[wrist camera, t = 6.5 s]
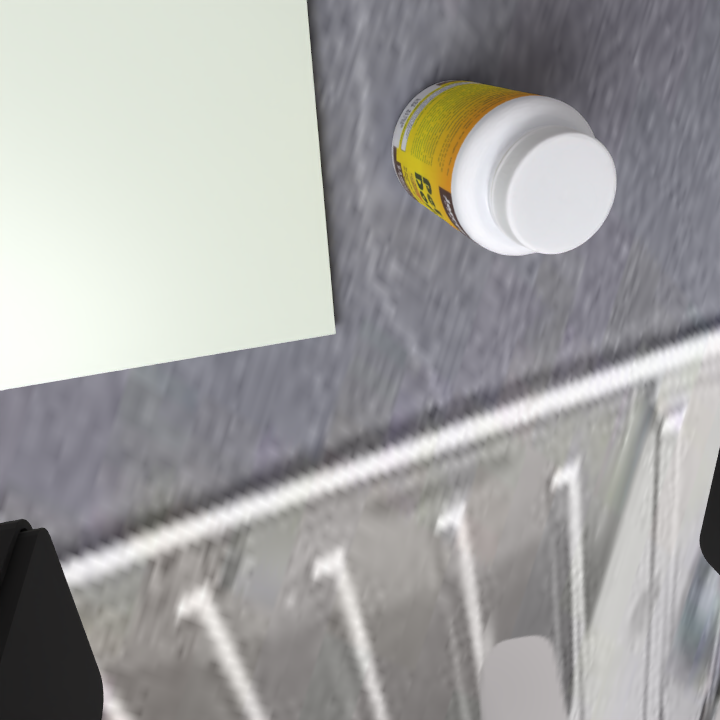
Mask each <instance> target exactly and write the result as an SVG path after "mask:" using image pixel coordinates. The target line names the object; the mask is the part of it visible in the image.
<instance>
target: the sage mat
mask: <svg viewBox="0 0 720 720" xmlns="http://www.w3.org/2000/svg"><path fill="white" fill-rule="evenodd" d="M331 334H336V333H335V321H334V310H333V298H332V287H331V275H330V264H329V252H328V241H327V230H326V218H325V207H324V195H323V184H322V172H321V161H320V149H319V138H318V126H317V115H316V103H315V92H314V80H313V69H312V57H311V46H310V34H309V23H308V11H307V0H0V390H5V389H11V388H17V387H23V386H29V385H35V384H40V383H46V382H52V381H58V380H64V379H70V378H76V377H82V376H88V375H94V374H100V373H106V372H112V371H118V370H124V369H129V368H135V367H141V366H147V365H153V364H159V363H165V362H171V361H177V360H183V359H189V358H195V357H201V356H207V355H213V354H218V353H224V352H230V351H236V350H242V349H248V348H254V347H260V346H266V345H272V344H278V343H284V342H290V341H296V340H302V339H307V338H313V337H319V336H325V335H331Z"/></svg>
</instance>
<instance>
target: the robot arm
mask: <svg viewBox="0 0 720 720" xmlns="http://www.w3.org/2000/svg"><path fill="white" fill-rule="evenodd" d="M700 547H701V550H702V553H703V555H704V557H705V559H706V560H707V562H708V563H709V564H710V565H711V566H712V567H713V568H714V569H715V570H716V571H717V573H718V574H719V575H720V449H719V453H718V458H717V462H716V467H715V471H714V476H713V480H712V485H711V489H710V494H709V498H708V502H707V507H706V511H705V516H704V520H703V525H702V529H701V534H700ZM102 711H103V684H102V678H101V675H100V672H99V669H98V666H97V663H96V661H95V658H94V655H93V652H92V650H91V647H90V644H89V641H88V639H87V636H86V633H85V630H84V628H83V625H82V622H81V619H80V617H79V614H78V611H77V608H76V606H75V603H74V600H73V597H72V595H71V592H70V589H69V586H68V584H67V581H66V578H65V575H64V573H63V570H62V567H61V564H60V562H59V559H58V556H57V553H56V551H55V548H54V545H53V542H52V540H51V537H50V535H49V533H48V531H47V530H46V529H45V528H38V529H32V527H31V525H30V524H29V522H28V521H27V520H24V519H20V520H15V521H9V522H4V523H0V720H101V719H102Z"/></svg>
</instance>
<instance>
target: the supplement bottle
mask: <svg viewBox="0 0 720 720" xmlns="http://www.w3.org/2000/svg"><path fill="white" fill-rule="evenodd" d="M392 160H393V165H394V169H395V172H396V175H397V177H398V179H399V181H400V183H401V184H402V186H403V187H404V189H405V190H406V191H407V192H408V193H409V194H410V195H411V196H412V197H413V198H414V199H416V200H417V201H418V202H419V203H421V204H422V205H424V206H425V207H427V208H428V209H429V210H431V211H432V212H434V213H435V214H436V215H438V216H439V217H440V218H442V219H443V220H445V221H446V222H448V223H449V224H450V225H451V226H453V227H454V228H456V229H457V230H459V231H460V232H462V233H463V234H464V235H466V236H467V237H469V238H470V239H471V240H473V241H474V242H475V243H477V244H479V245H481V246H482V247H484V248H486V249H488V250H490V251H493V252H495V253H499V254H503V255H526V254H532V253H535V252H538V253H544V254H558V253H563V252H566V251H569V250H572V249H574V248H576V247H578V246H579V245H581V244H582V243H584V242H585V241H587V240H588V239H589V238H590V237H592V235H593V234H594V233H595V232H596V231H597V230H598V229H599V228H600V226H601V225H602V224H603V222H604V221H605V219H606V217H607V215H608V213H609V212H610V209H611V206H612V204H613V201H614V197H615V192H616V171H615V166H614V162H613V159H612V157H611V155H610V153H609V152H608V150H607V149H606V148H605V146H604V145H603V144H602V143H601V142H600V141H598V140H597V139H596V138H595V137H594V135H593V132H592V130H591V128H590V126H589V125H588V123H587V122H586V120H585V119H584V118H583V117H582V116H581V115H580V113H579V112H577V111H576V110H575V109H574V108H572V107H571V106H569V105H567V104H566V103H564V102H562V101H560V100H557V99H554V98H550V97H546V96H541V95H536V94H531V93H525V92H520V91H515V90H510V89H505V88H501V87H495V86H490V85H486V84H480V83H476V82H470V81H464V80H449V81H443V82H440V83H437V84H434V85H432V86H430V87H428V88H426V89H425V90H423V91H422V92H420V93H419V94H418V95H417V96H416V97H414V99H413V100H412V101H411V102H410V103H409V104H408V105H407V107H406V108H405V109H404V111H403V113H402V114H401V116H400V118H399V120H398V122H397V125H396V128H395V131H394V135H393V141H392Z"/></svg>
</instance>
